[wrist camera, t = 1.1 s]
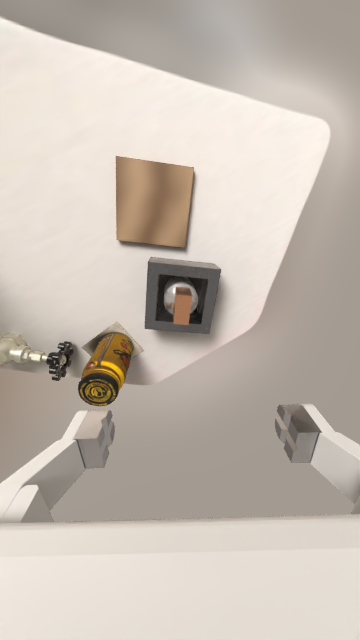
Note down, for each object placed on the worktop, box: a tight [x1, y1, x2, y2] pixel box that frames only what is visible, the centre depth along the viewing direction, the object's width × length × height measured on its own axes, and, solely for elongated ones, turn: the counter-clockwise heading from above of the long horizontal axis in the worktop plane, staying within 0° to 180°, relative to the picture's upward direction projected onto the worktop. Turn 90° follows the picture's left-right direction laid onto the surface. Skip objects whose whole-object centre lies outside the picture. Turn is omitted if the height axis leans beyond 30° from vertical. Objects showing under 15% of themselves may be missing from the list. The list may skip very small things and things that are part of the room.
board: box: [116, 156, 194, 248], centre depth 30 cm, size 10×10×1 cm
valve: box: [0, 333, 73, 381], centre depth 35 cm, size 7×7×12 cm
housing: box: [145, 257, 221, 334], centre depth 33 cm, size 10×10×5 cm
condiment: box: [78, 322, 144, 406], centre depth 34 cm, size 7×8×12 cm
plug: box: [164, 276, 198, 325], centre depth 31 cm, size 5×5×9 cm
